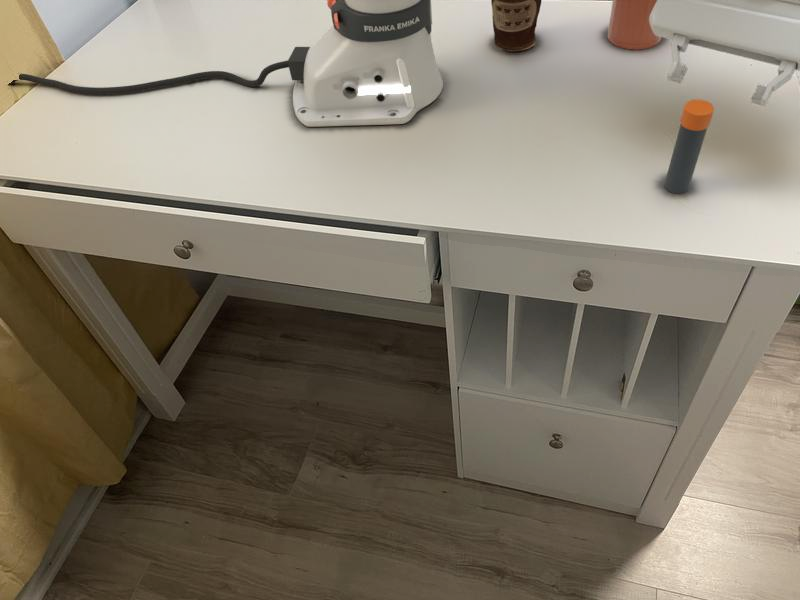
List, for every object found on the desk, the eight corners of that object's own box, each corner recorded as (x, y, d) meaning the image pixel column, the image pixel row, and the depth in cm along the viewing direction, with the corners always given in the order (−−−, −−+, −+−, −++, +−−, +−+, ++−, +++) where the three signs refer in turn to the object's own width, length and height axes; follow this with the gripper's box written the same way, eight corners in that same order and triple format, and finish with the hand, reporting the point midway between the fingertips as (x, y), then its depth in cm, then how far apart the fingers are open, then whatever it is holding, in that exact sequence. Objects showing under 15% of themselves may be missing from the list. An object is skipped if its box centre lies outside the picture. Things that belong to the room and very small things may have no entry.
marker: (668, 196, 79) (691, 117, 71) (659, 180, 81) (680, 101, 73) (693, 192, 79) (718, 112, 71) (683, 176, 81) (707, 97, 73)
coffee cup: (540, 58, 101) (546, -29, 91) (485, 57, 103) (486, -29, 93) (543, 29, 107) (549, -56, 97) (491, 29, 108) (492, -55, 99)
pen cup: (617, 52, 100) (628, -14, 93) (600, 27, 106) (610, -38, 98) (669, 45, 100) (684, -22, 93) (650, 20, 106) (663, -46, 98)
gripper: (675, -63, 74) (622, 59, 77) (880, -28, 65) (811, 109, 67) (682, -38, 79) (632, 75, 82) (872, -2, 70) (808, 124, 73)
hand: (714, 91), depth 75 cm, fingers open, 8 cm apart
